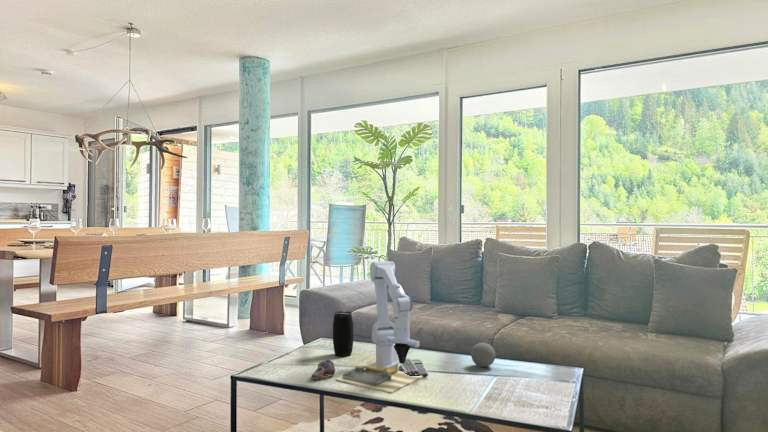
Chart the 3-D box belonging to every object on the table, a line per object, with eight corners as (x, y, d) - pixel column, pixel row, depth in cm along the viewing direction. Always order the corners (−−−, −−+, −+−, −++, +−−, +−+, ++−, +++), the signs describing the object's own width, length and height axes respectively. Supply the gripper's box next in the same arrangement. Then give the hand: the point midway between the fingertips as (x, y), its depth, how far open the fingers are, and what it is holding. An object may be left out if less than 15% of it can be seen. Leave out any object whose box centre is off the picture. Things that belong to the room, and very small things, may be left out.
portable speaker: (330, 353, 241) (330, 311, 241) (350, 351, 244) (349, 310, 244) (336, 358, 233) (336, 314, 233) (356, 356, 236) (355, 313, 236)
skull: (318, 383, 198) (318, 367, 198) (303, 379, 203) (303, 364, 203) (339, 375, 208) (338, 360, 208) (324, 372, 212) (324, 357, 212)
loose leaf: (373, 367, 216) (373, 360, 216) (397, 372, 209) (397, 364, 209) (361, 372, 209) (361, 364, 209) (386, 377, 202) (386, 369, 202)
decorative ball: (500, 367, 217) (500, 343, 218) (483, 371, 212) (483, 347, 212) (483, 362, 226) (483, 339, 226) (466, 365, 220) (466, 342, 220)
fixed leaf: (356, 371, 210) (356, 365, 210) (391, 379, 200) (391, 372, 200) (341, 378, 202) (341, 371, 202) (377, 386, 192) (377, 379, 192)
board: (369, 367, 219) (369, 365, 219) (423, 377, 204) (423, 376, 204) (336, 380, 201) (336, 379, 201) (392, 393, 186) (392, 391, 186)
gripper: (381, 327, 204) (381, 362, 204) (412, 332, 196) (412, 368, 196) (391, 324, 210) (391, 358, 210) (422, 328, 201) (422, 363, 202)
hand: (402, 362), depth 203 cm, fingers closed
